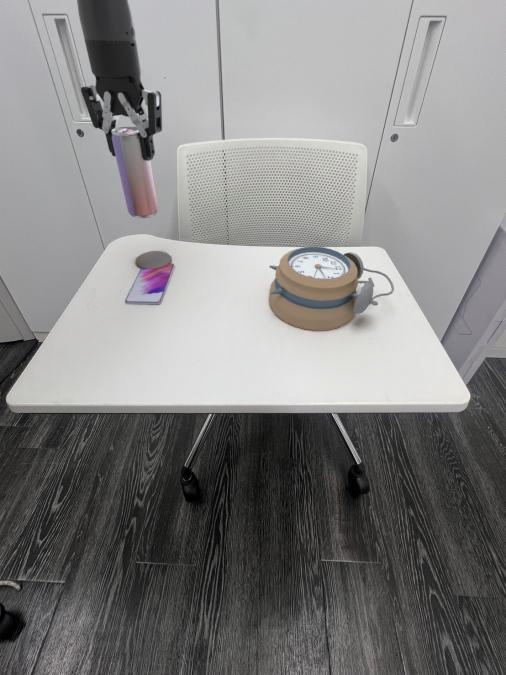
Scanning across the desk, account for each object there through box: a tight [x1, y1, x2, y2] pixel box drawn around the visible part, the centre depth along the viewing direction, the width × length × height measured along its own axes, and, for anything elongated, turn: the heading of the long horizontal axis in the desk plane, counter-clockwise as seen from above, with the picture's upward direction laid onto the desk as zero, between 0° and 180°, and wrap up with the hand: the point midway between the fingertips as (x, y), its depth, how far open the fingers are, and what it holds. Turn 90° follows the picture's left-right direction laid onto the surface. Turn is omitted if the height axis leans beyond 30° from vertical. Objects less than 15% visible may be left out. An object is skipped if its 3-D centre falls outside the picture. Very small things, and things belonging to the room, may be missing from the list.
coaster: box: [134, 250, 172, 270], centre depth 78 cm, size 8×8×1 cm
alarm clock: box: [268, 246, 395, 331], centre depth 65 cm, size 17×9×23 cm
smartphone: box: [124, 262, 175, 306], centre depth 71 cm, size 7×1×15 cm
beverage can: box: [111, 125, 159, 219], centre depth 65 cm, size 6×6×15 cm
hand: (133, 157), depth 63 cm, fingers closed on beverage can, 6 cm apart
